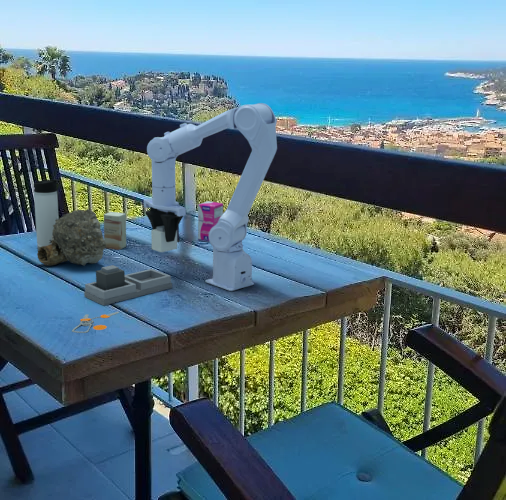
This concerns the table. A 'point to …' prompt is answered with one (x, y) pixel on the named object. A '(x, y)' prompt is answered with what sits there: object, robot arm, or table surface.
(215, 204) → the supplement box
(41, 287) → the table surface
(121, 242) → the skincare box
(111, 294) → the socket strip
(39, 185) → the travel mug
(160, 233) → the grey plug
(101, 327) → the key chain
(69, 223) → the grey brown rough lump
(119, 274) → the twin plug
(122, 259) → the table surface
